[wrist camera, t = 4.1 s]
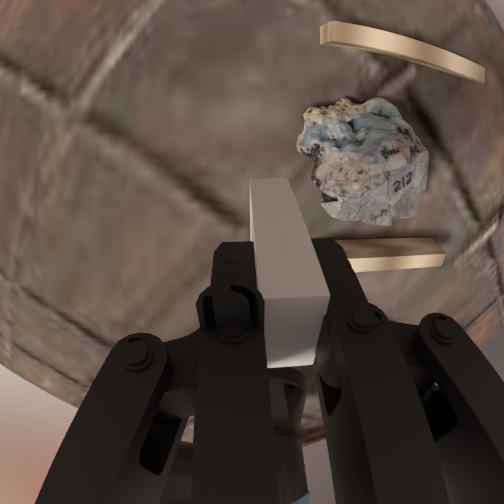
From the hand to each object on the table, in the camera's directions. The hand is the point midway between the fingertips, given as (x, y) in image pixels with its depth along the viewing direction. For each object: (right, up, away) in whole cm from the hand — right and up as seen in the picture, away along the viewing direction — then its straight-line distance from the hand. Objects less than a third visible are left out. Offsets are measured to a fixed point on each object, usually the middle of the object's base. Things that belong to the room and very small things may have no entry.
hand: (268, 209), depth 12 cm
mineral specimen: (+8, +7, +10) cm, 14 cm away
